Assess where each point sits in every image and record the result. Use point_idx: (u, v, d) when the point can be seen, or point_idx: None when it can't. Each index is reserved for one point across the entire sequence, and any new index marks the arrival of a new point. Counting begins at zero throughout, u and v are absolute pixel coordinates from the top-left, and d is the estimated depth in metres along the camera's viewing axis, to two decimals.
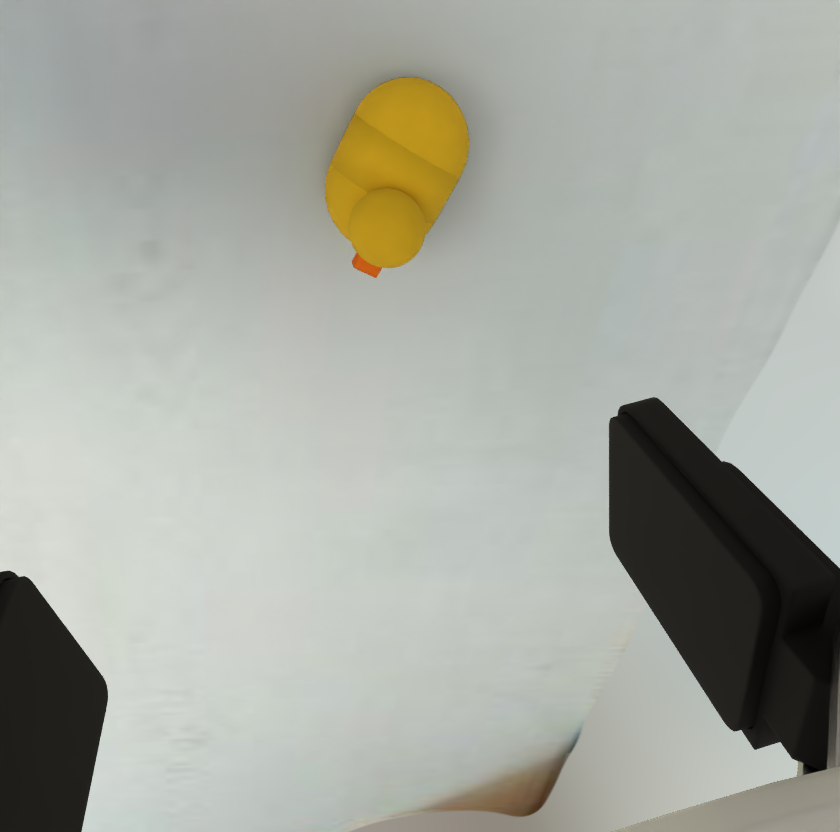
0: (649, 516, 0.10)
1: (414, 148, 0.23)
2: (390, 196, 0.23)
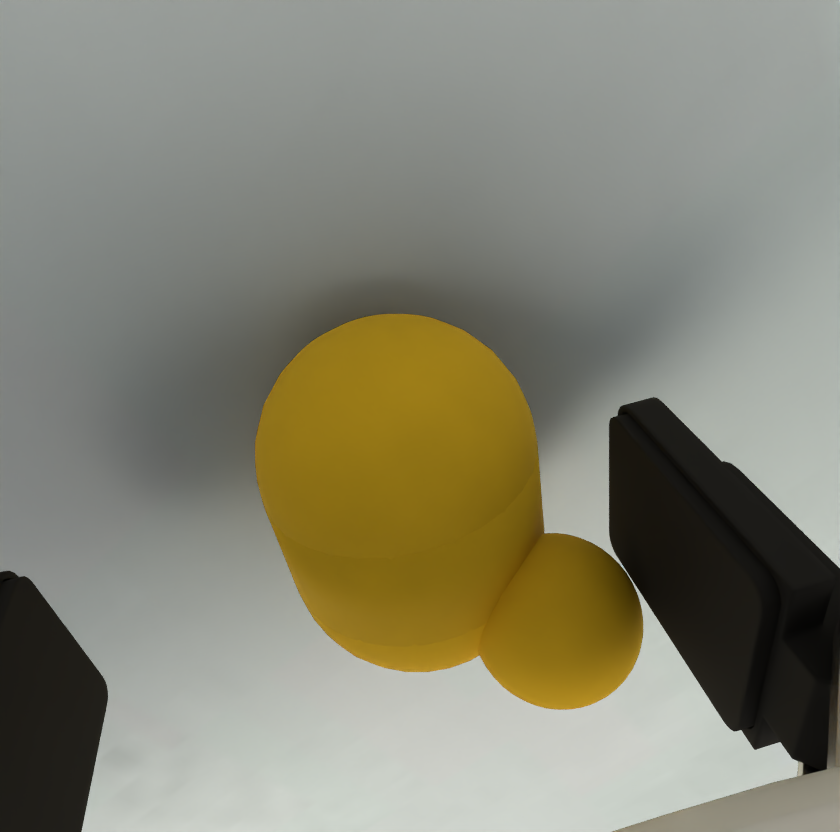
0: (649, 516, 0.10)
1: (505, 499, 0.09)
2: (566, 612, 0.10)
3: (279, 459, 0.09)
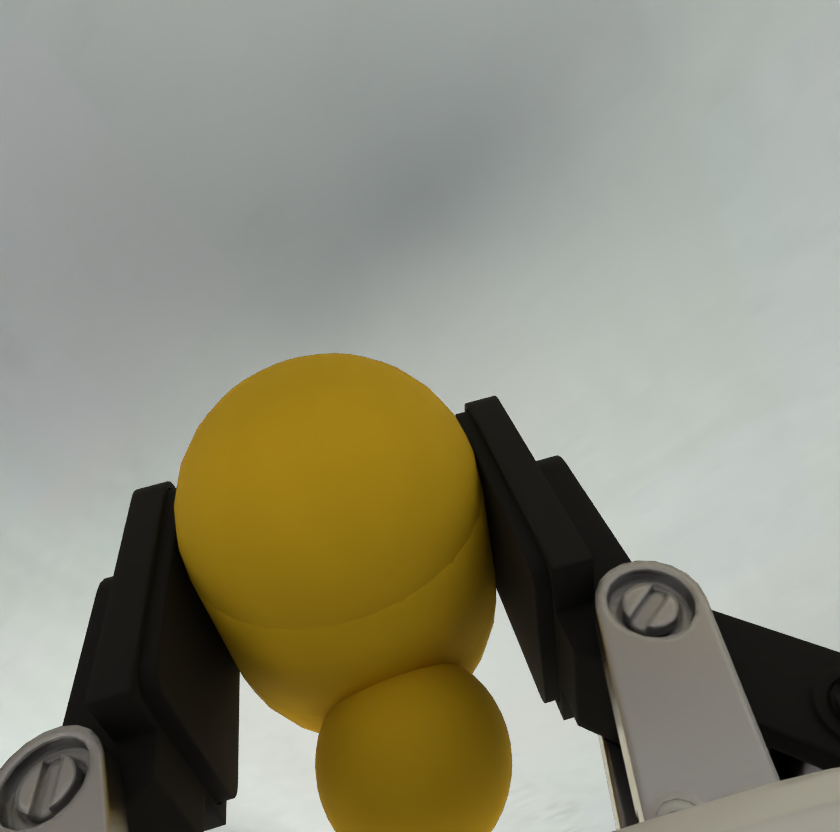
0: None
1: (337, 614, 0.08)
2: (366, 765, 0.08)
3: None
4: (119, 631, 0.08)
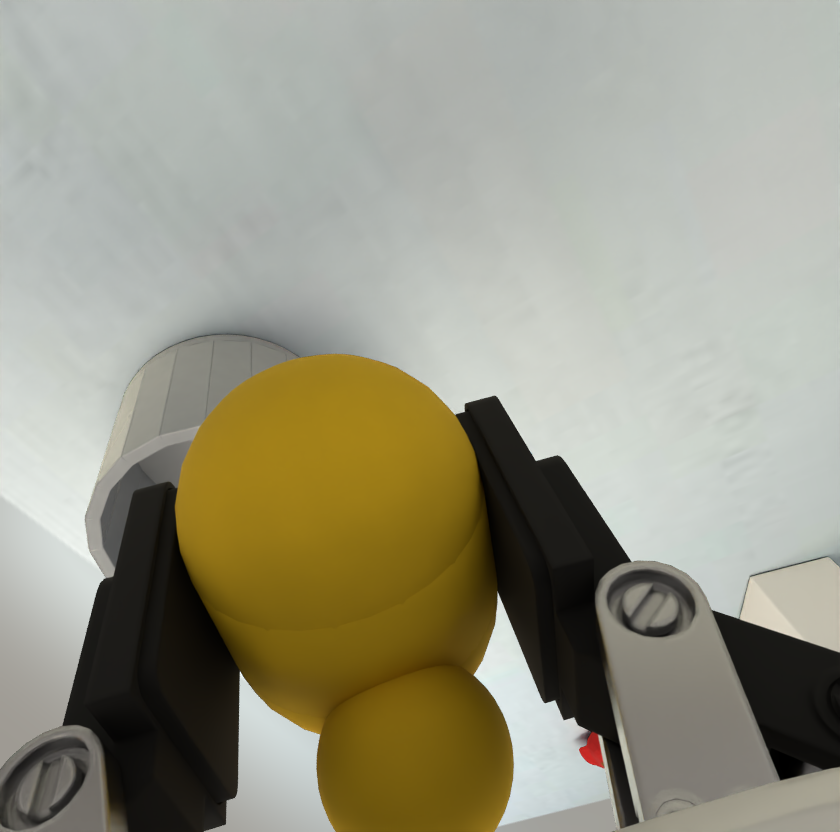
0: None
1: (338, 616, 0.08)
2: (367, 766, 0.08)
3: None
4: (119, 631, 0.08)
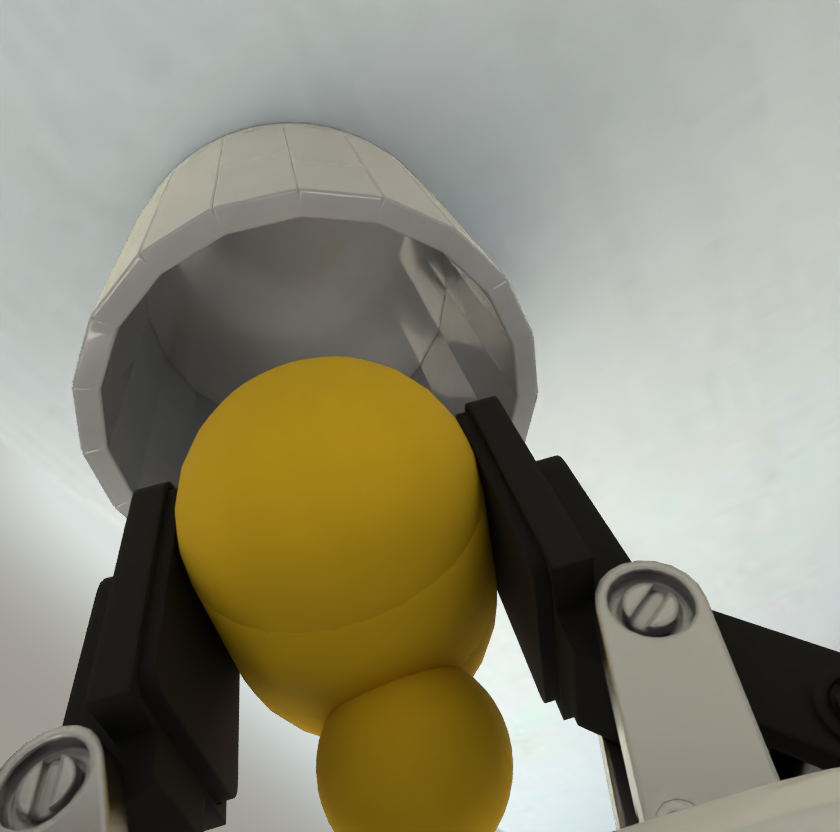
0: None
1: (338, 618, 0.08)
2: (367, 768, 0.08)
3: (182, 469, 0.10)
4: (119, 631, 0.08)
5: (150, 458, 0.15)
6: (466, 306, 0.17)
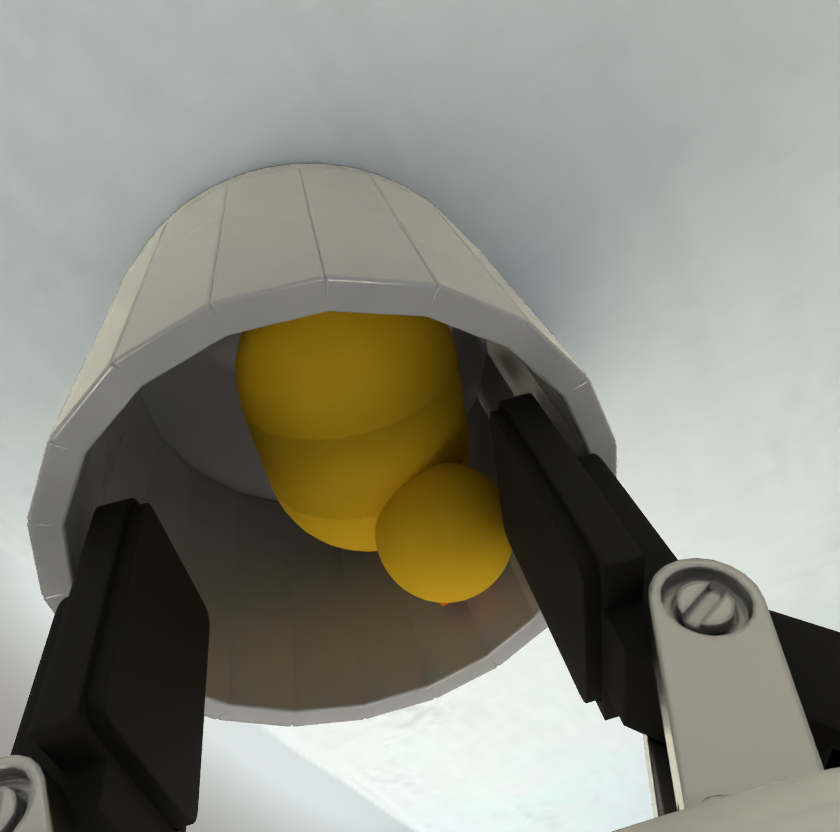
0: (519, 504, 0.10)
1: (391, 416, 0.12)
2: (427, 517, 0.12)
3: (240, 353, 0.13)
4: (69, 657, 0.08)
5: None
6: (516, 382, 0.15)
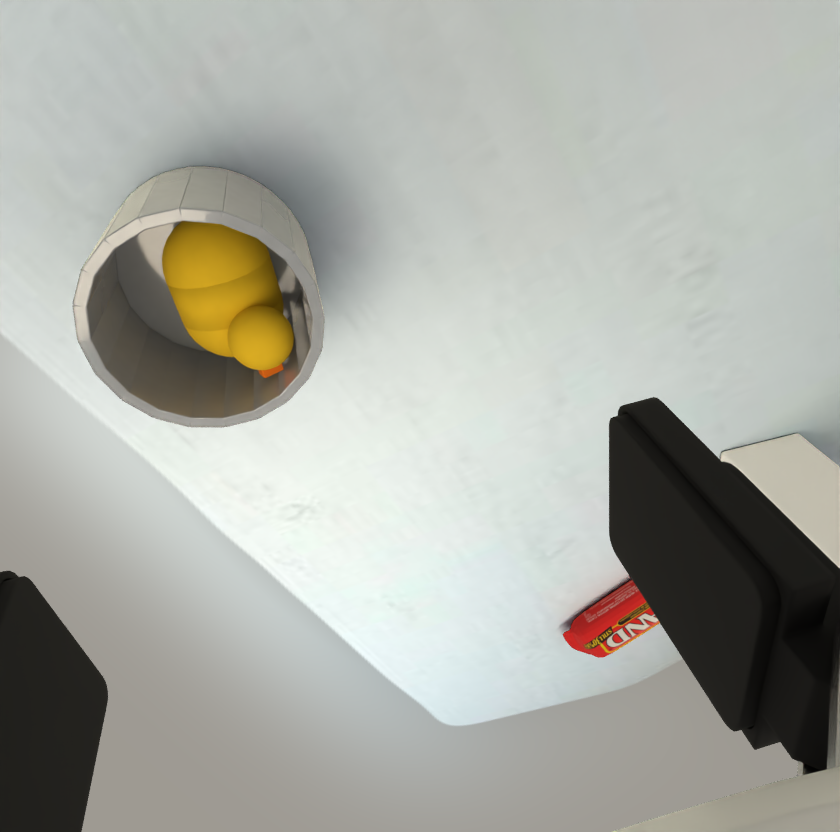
0: (649, 516, 0.10)
1: (228, 277, 0.27)
2: (245, 323, 0.27)
3: (163, 252, 0.28)
4: None
5: (115, 353, 0.28)
6: None
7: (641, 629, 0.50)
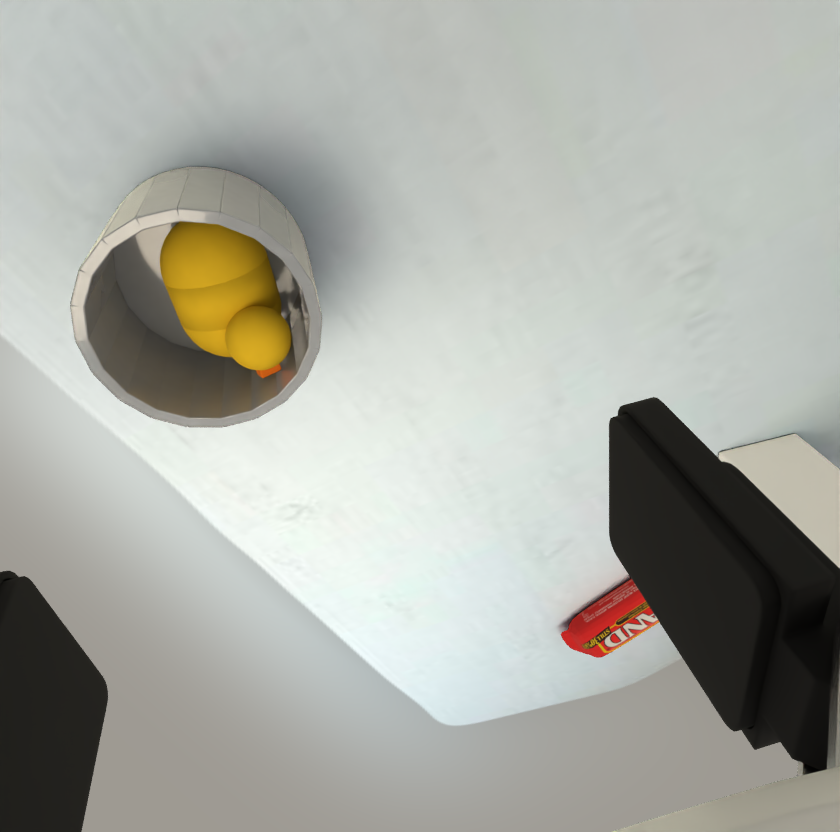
0: (649, 516, 0.10)
1: (225, 278, 0.27)
2: (242, 323, 0.27)
3: (161, 253, 0.28)
4: None
5: (113, 353, 0.28)
6: None
7: (639, 629, 0.50)
